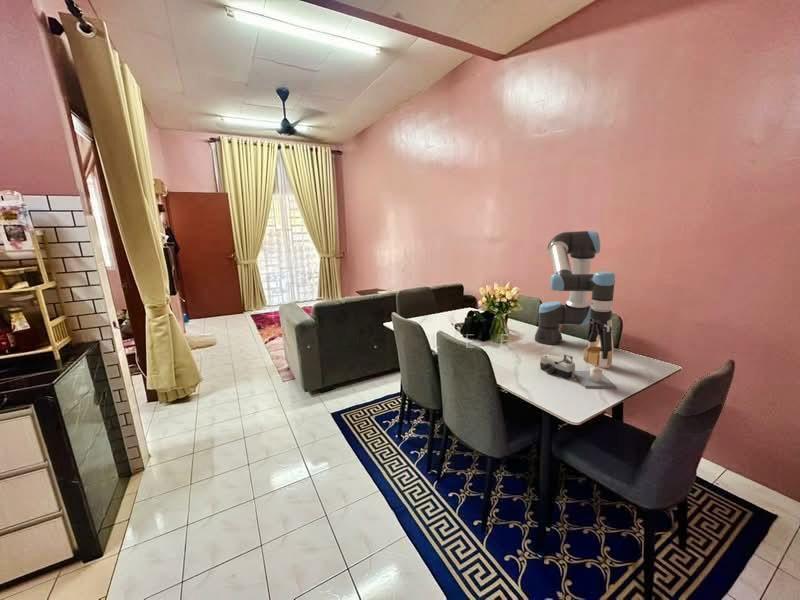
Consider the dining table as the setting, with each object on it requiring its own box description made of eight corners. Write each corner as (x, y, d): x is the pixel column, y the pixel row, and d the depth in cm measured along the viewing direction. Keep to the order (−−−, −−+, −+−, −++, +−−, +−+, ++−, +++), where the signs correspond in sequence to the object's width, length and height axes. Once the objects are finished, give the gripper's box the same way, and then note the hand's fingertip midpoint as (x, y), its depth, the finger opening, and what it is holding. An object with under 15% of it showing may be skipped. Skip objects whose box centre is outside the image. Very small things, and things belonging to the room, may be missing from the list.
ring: (603, 357, 141) (604, 346, 140) (615, 366, 132) (616, 354, 131) (580, 357, 142) (581, 346, 141) (590, 365, 133) (591, 354, 132)
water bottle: (616, 370, 150) (621, 311, 145) (594, 369, 152) (599, 311, 146) (607, 361, 160) (612, 306, 154) (587, 360, 162) (591, 306, 156)
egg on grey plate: (571, 372, 149) (572, 360, 148) (598, 373, 148) (599, 360, 147) (585, 387, 135) (586, 374, 134) (616, 388, 133) (617, 374, 132)
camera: (536, 369, 154) (537, 350, 152) (547, 366, 158) (548, 346, 156) (566, 381, 142) (567, 360, 140) (576, 377, 145) (578, 356, 143)
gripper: (580, 304, 144) (576, 351, 148) (604, 316, 122) (600, 371, 126) (598, 303, 143) (594, 351, 147) (626, 316, 121) (620, 371, 126)
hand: (597, 360), depth 137 cm, fingers closed on ring, 10 cm apart
